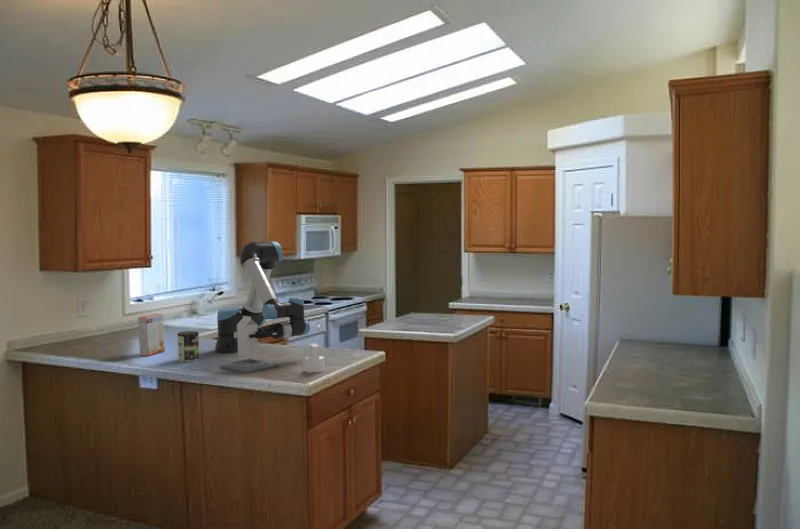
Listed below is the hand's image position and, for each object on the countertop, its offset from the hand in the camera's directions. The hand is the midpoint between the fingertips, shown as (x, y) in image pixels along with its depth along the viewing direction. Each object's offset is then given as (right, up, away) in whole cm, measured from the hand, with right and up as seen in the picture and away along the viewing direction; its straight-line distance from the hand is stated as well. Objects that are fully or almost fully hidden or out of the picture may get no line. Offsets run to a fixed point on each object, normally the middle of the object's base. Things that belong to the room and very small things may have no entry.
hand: (238, 336), depth 317 cm
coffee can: (-31, -15, +23) cm, 42 cm away
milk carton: (+4, -10, +4) cm, 11 cm away
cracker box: (-56, -14, +41) cm, 71 cm away
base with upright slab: (+37, -16, -5) cm, 41 cm away
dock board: (+4, -15, +4) cm, 17 cm away
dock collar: (+4, -15, +4) cm, 17 cm away
